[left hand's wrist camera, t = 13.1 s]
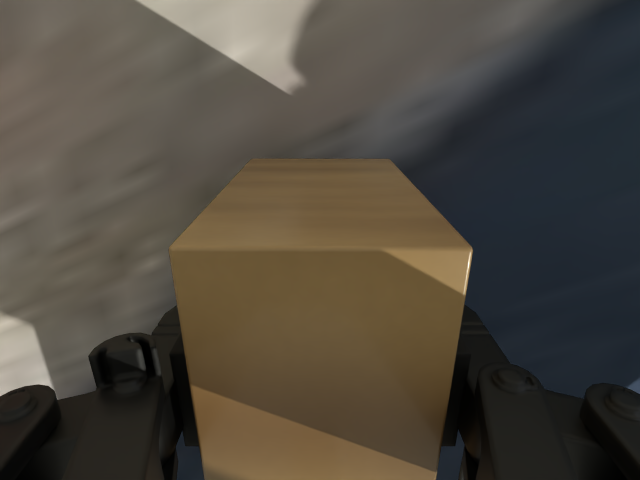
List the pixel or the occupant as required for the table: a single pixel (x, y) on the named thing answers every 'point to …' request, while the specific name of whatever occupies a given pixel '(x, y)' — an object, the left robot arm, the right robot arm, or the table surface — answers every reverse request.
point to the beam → (320, 322)
